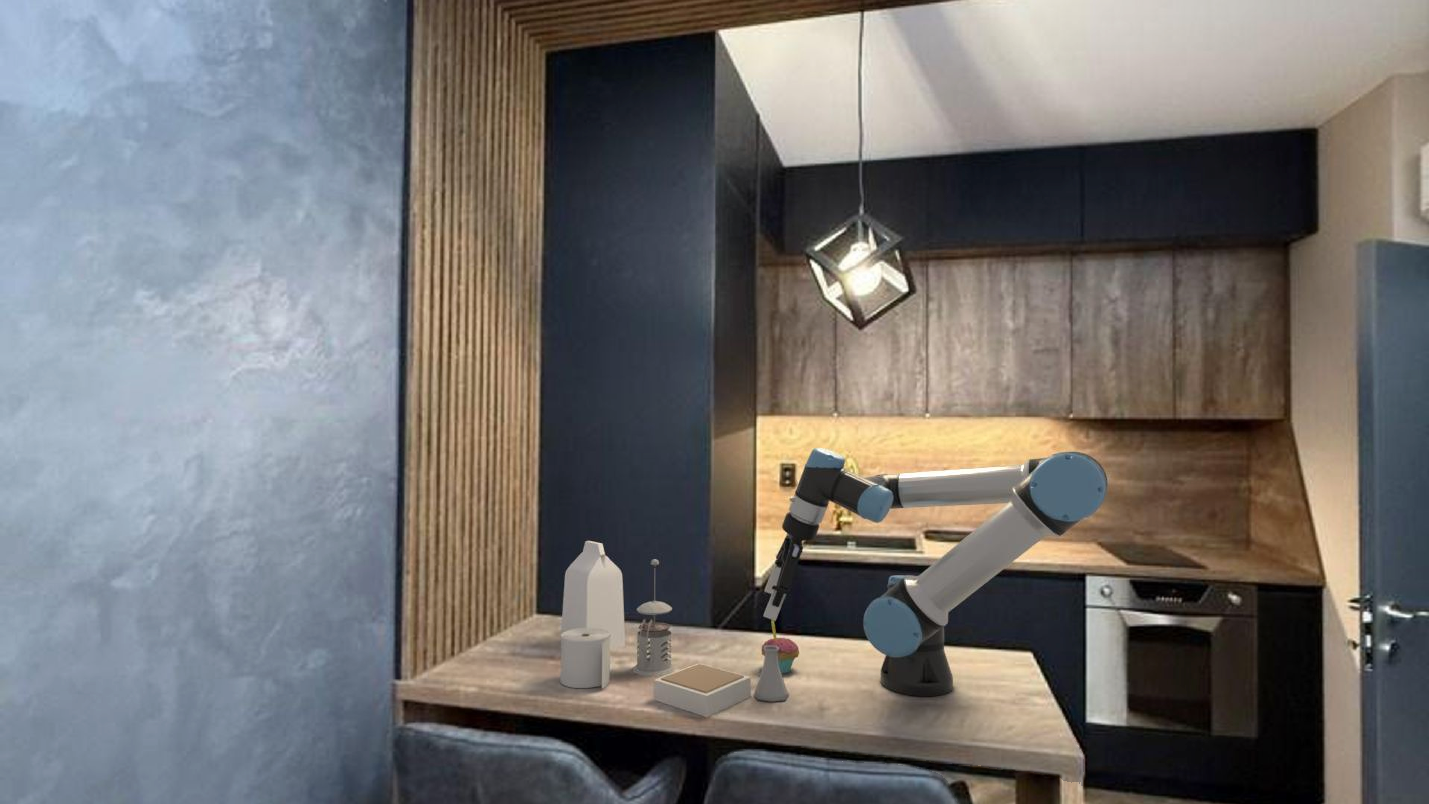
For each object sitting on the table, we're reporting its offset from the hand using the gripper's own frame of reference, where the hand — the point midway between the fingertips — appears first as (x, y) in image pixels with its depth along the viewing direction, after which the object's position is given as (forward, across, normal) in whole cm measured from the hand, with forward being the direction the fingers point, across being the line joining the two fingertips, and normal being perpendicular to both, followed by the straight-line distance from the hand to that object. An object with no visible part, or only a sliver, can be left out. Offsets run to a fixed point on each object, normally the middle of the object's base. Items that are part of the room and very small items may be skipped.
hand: (769, 605), depth 162 cm
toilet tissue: (+28, +7, -32) cm, 43 cm away
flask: (+14, +13, +5) cm, 19 cm away
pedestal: (+18, +15, -8) cm, 25 cm away
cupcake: (+16, -4, +8) cm, 18 cm away
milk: (+34, -18, -35) cm, 52 cm away
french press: (+25, -1, -19) cm, 31 cm away
